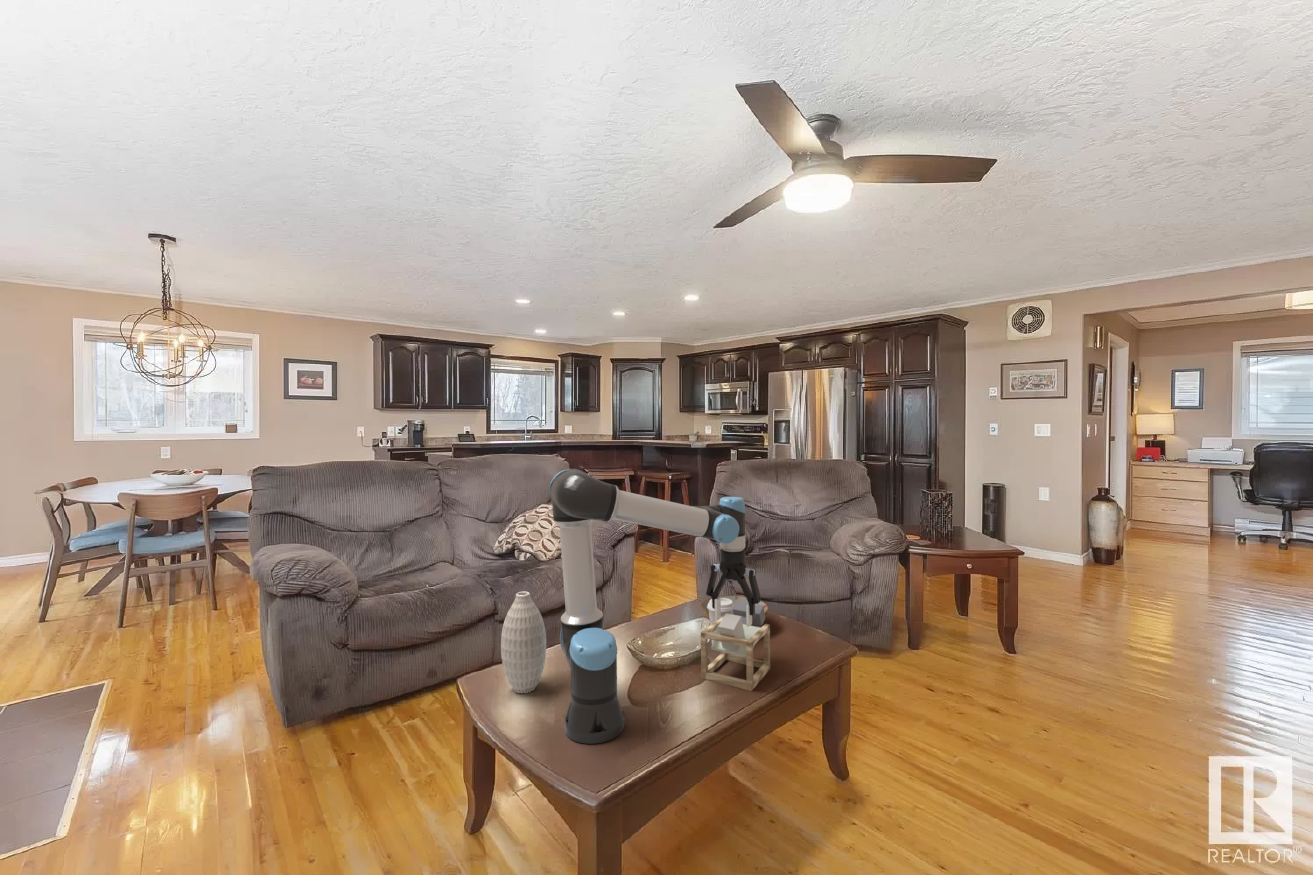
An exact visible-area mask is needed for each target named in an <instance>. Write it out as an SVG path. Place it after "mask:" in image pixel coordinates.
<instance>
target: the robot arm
mask: <svg viewBox="0 0 1313 875" xmlns="http://www.w3.org/2000/svg"><path fill="white" fill-rule="evenodd" d="M548 488H549V489H548V494H549V497H550V500H551V506H552V516H553V517H552V519H553V523H555V524H556V525H557V526H558V527H559V535H560V538H559V540H560V549H561V550H560V551H561V552H560V553H561V564H562V565H561V566H562V577H563V578H562V579H563V590H564V591H563V592H564V604H565V612H564V613H563V614H562V615H561V617H560V626H561V627H560V628H561V630H560V633H559V643H560V647H561V650H562V652H563V653H564V657H565V659H566V661H567V663H568V666H569V669H570V694H571V695H570V696H571V697H570V701H569V705H568V708H567V711H566V714H565V718H564V733H565V734H566V736H567V738H569V739H570V740H572V741H574V742H577V743H581V744H585V745H586V744H588V745H593V744H595V745H596V744H602V743H606V742H608V741H609V742H610V741H611V740H613V739H615V738H617V737H618V736H620V735H621V733H622V732H623V731H624V729H625V714H624V711H623V710H622V706H621V703H620V699H619V697H618V659H617V658H618V657H617V656H618V646H617V641H616V638H615V635H614V634H613V633H611V632H610V631H609V630H607V629H606V630H605V627H604V613H603V611H602V610H600V609H599V608H598V606H597V602H598V601H597V592H596V591H597V590H596V580H595V578H596V576H595V574H596V573H595V562H594V548H593V534H592V532H593V531H592V523H593V521H594V520H596V521H599V522H600V521H601V522H604V523H605V522H606V523H609V522H611V521H612V520H615V521H620V522H625V523H630V524H637V525H640V526H646V527H651V528H655V529H660V530H665V531H671V532H676V533H679V534H685V535H691V536H695V537H699V538H703V539H708V540H713V541H716V542H717V543H719V547H720V554H719V556H720V559H719V560H720V563H719V564H718V563H715V562H714V563H713V564H711V565H710V576H709V579H708V584H707V588H706V593H705V594H706V595H705V596H707V597H710V598H712V607H713V608H714V609H715V621H718V620H719V619H720V618H721V597H718V596H720V593H721V591H722V589H723V588H724V586H725V584H726V582H727V580H728V581H729V580H730V581H731V580H732V581H736V582H737V583H738V584H739V586H740V588H741V590H742V593H743V594H744V595H743V596H745V597H746V599H747V601H748V604H747V605H746V627H749V626H750V625H752V616H753V615H754V614H755V604H758V603H759V602H760V601H762V597H761V593H760V590H759V585H758V581H757V578H756V575H757V570H756V568H754V567H753V568H749V567H747V566H746V550H745V548H746V504H745V499H744V498H743V497H739V496H724V497H721V498H720V499H719V504H715V505H702V506H700V505H699V506H698V505H697V506H695V505H694V506H692V505H687V504H682V503H679V502H674V501H669V500H665V499H660V498H656V497H652V496H647V495H642V494H638V493H633V492H629V491H625V490H620V489H619V487H618V486H617V485H615V484H613V483H612V484H611V483H608V482H605V481H603V480H600V479H597V478H595V477H593V476H592V475H590V474H588V473H586V472H585V471H583V470H580V469H577V468H569V469H563V470H562V471H561V470H560V471H559V472H558V473H557V474H555V475H554V476H553V478H552V480H551V481H550V483H549V487H548ZM719 570H720V572H721V573H722V575H721V577H720V578H719V581H718V583H717V585H716V582H717V577H718V572H719ZM745 574H747V576H748V581H749V585H750V587H749V585H748V583H747V578H746V577H745V576H746V575H745ZM715 585H716V586H715Z"/></svg>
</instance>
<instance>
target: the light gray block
mask: <svg viewBox="0 0 1313 875" xmlns="http://www.w3.org/2000/svg"><path fill="white" fill-rule="evenodd" d="M718 629H719V633H720V634H721V635H726V636H731V637H736V638H741V639H744V638H745V634H744V629H743V624H742V618H741V616H738V615H732V614H727V613H726V614H725V615H724V617H723V619H722V621H721V622H720V624H719V626H718ZM721 643H722V647H723V648H727V649H731V650H736V651H738V650H739V648H740V646H739V645H734V644H730V643H725V642H721Z"/></svg>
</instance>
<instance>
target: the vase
mask: <svg viewBox="0 0 1313 875" xmlns="http://www.w3.org/2000/svg"><path fill="white" fill-rule="evenodd" d="M544 622H545V621H544V620H543V617H542V614H541V612H540V610H539V608H538V607H537V605H536V604H535V602H534V601H533V600H532V598H531V593H530V592H528V591H518V592H517V593H515V598H514V601H513V602H512V604H511V605H510V608H509V609H508V611H507V614H506V616H505V619H504V621H503V625H502V629H501V634H500V635H501V636H500V637H501V638H500V651H501V652H500V654H501V655H500V656H501V663H502V668H503V672H504V675H505V678H506V680H507V682H508V684H509V686H511V688H512V690H513V691H514V693H516V694H519V693H522V694H523V693H525V694H529V693H531V691H532V692H533V691H534V690H535V689H536V688H537V686H538V684H539V682H540V680H541V678H542V675H543V672H544V669H545V665H546V656H547V636H546V635H547V634H546V633H547V632H546V627H545V623H544ZM528 692H529V693H528ZM522 694H521V695H522Z"/></svg>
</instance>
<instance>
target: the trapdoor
mask: <svg viewBox="0 0 1313 875" xmlns="http://www.w3.org/2000/svg"><path fill="white" fill-rule="evenodd" d="M747 604H748V603H745V602H739V601H737V602H736V604H735V606H734V608H733V613H734V615H738V616H741V618H742V624H743V629H744V634H745V638H744V639H745V640H749V639H750V638H751V637H752V636H753V635H754V634H755V633H756V632H757V631H758V630H759V629H760V628H761V627H762V626H763V624H764V623H765V621H766V616H765V612H764V606H762V605H756V604H755V614H754V615H753V616H752V625H756V626H749V627H746V605H747ZM719 634H720V633H719ZM754 647H755V645H754V646H753V648H754ZM710 650H712V651H716V652H720V653H721V652H725V653H729V654H734V655H738V656H742V657H746V647H744V646H740V648H739V650H738V651H736V650H731V649H727V648H723V647H722V643H721V642H720V641H716V640H715V641H714V643H713V645H712V644H711V646H710Z"/></svg>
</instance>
